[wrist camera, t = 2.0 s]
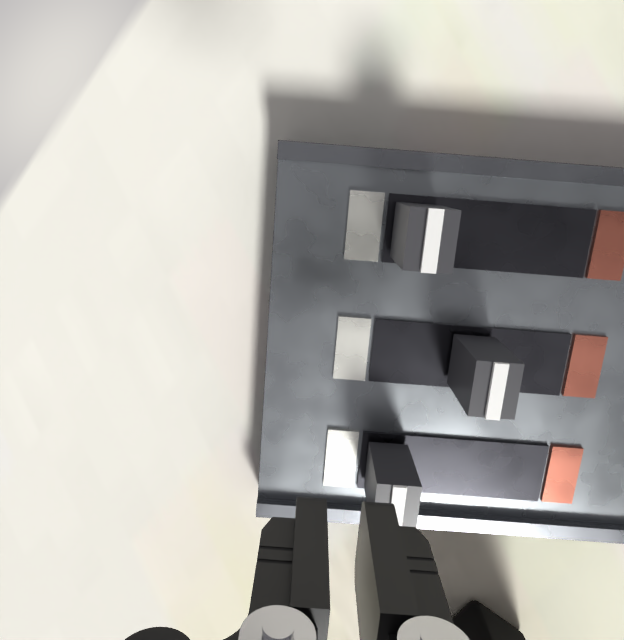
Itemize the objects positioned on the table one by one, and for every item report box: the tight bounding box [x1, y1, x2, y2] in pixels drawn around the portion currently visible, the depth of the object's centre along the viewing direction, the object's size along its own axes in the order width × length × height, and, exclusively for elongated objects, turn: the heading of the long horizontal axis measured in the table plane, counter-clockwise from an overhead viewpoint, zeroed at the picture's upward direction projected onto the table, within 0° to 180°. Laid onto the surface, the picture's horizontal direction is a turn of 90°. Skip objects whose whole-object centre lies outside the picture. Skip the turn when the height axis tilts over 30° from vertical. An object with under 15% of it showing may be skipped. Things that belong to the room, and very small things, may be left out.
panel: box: [256, 140, 624, 544], centre depth 29 cm, size 20×19×3 cm
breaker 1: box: [364, 442, 422, 528], centre depth 27 cm, size 2×2×4 cm
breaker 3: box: [447, 334, 525, 421], centre depth 25 cm, size 2×2×4 cm
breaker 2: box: [390, 202, 461, 274], centre depth 24 cm, size 2×2×4 cm
